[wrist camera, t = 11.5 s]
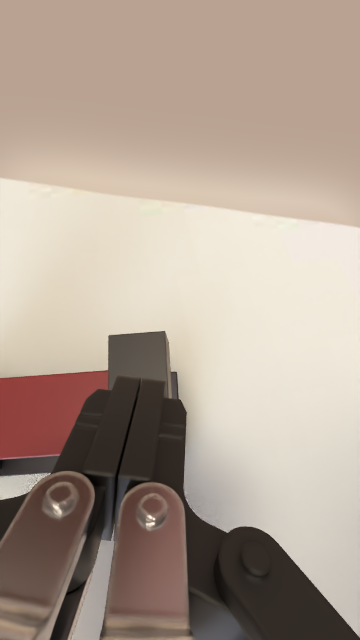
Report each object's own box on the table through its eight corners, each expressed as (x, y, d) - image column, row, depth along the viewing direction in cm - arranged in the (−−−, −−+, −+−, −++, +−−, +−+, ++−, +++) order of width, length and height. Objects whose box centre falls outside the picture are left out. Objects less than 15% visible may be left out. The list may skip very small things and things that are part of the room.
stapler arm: (168, 342, 16) (165, 330, 14) (176, 481, 14) (173, 490, 12) (-94, 362, 16) (-133, 353, 14) (-121, 501, 14) (-170, 512, 12)
